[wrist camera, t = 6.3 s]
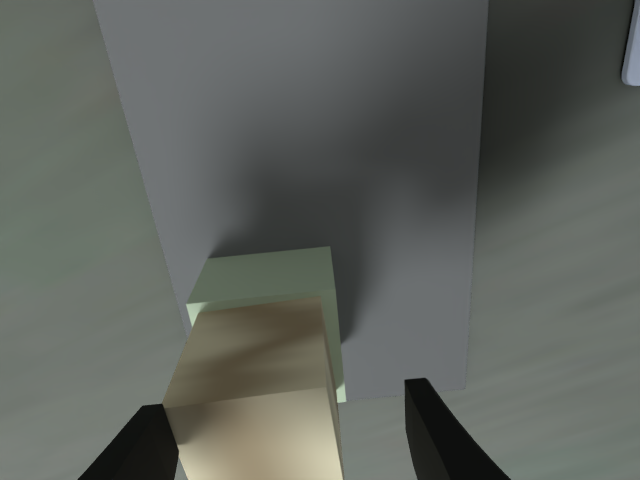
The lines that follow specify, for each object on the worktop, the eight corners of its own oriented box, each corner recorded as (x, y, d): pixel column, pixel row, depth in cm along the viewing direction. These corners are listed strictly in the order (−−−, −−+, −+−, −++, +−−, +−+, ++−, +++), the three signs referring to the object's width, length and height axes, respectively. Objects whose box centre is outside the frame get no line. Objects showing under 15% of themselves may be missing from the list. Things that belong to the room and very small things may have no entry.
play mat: (490, -133, 15) (496, -139, 15) (461, 381, 25) (465, 389, 25) (75, -87, 15) (66, -92, 15) (210, 406, 25) (208, 414, 25)
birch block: (320, 295, 17) (326, 386, 12) (336, 389, 19) (346, 497, 15) (198, 312, 17) (159, 408, 13) (226, 404, 19) (202, 515, 15)
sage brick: (330, 246, 21) (335, 289, 17) (339, 345, 23) (346, 401, 19) (206, 258, 21) (186, 304, 17) (229, 356, 23) (215, 414, 20)
